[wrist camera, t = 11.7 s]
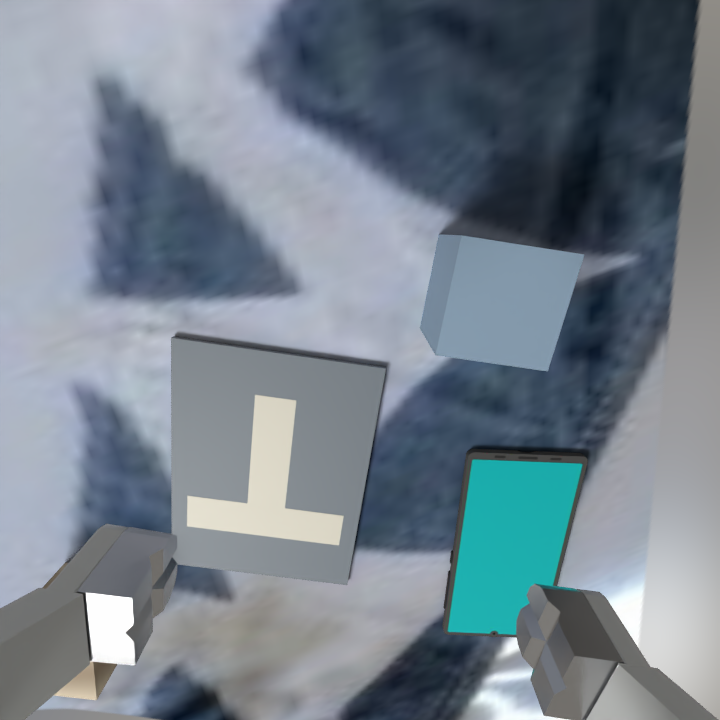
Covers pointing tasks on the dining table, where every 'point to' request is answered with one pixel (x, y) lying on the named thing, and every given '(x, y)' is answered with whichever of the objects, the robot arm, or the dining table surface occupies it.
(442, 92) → the dining table surface
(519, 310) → the steel-blue cube
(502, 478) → the smartphone
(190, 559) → the letter card
